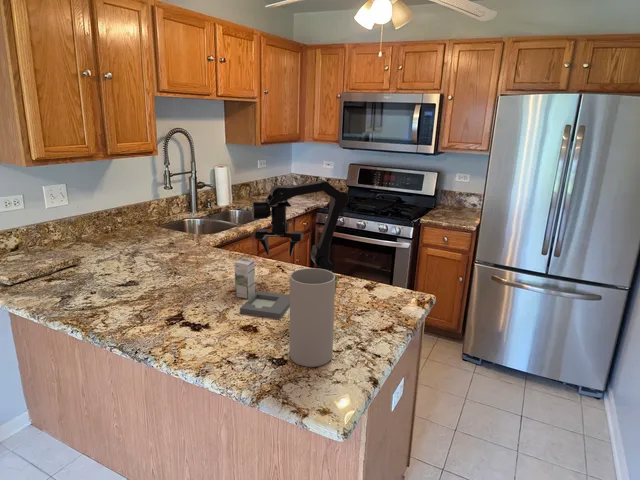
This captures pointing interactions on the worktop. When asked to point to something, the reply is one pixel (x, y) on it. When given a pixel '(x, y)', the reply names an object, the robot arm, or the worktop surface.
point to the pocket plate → (266, 305)
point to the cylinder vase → (311, 316)
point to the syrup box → (244, 278)
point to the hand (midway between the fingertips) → (279, 255)
